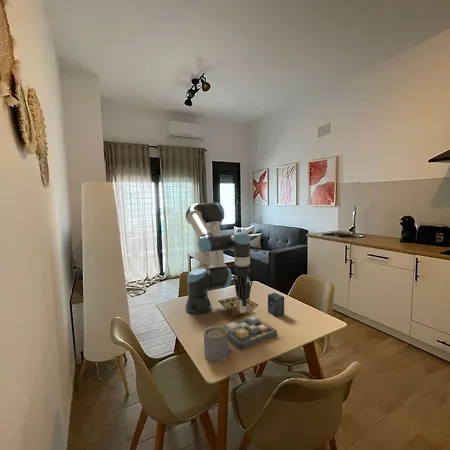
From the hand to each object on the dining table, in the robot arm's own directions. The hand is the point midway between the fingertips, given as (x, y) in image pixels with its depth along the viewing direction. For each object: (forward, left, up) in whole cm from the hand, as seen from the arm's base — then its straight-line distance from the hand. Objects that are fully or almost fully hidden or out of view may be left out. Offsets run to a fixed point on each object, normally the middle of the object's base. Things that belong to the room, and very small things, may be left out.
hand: (243, 311), depth 127 cm
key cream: (0, -6, -7) cm, 9 cm away
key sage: (0, 0, -9) cm, 9 cm away
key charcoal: (+7, 0, -7) cm, 10 cm away
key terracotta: (+7, +6, -9) cm, 13 cm away
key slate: (0, +6, -7) cm, 9 cm away
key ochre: (+7, -6, -7) cm, 12 cm away
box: (-5, +27, -10) cm, 29 cm away
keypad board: (+4, 0, -10) cm, 11 cm away
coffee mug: (+9, -19, -10) cm, 23 cm away
